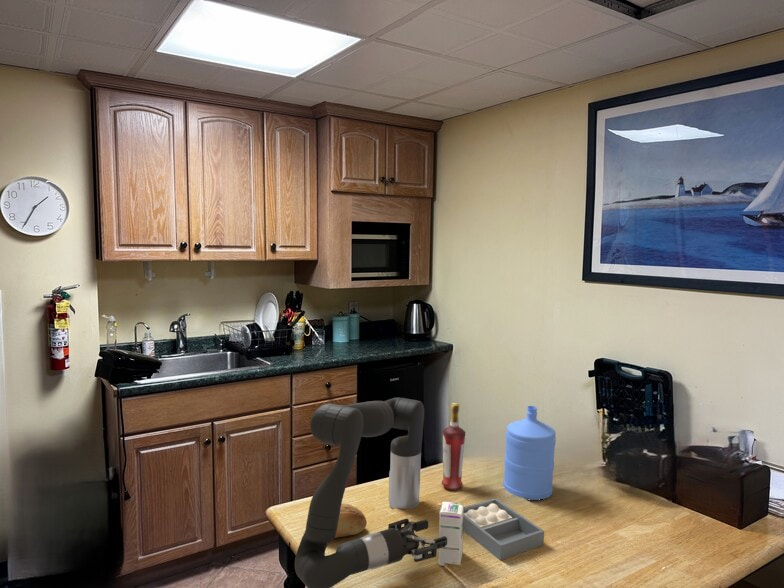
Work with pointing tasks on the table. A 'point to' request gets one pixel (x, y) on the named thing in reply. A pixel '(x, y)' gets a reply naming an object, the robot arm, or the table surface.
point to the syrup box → (451, 533)
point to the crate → (504, 532)
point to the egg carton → (487, 515)
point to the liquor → (453, 451)
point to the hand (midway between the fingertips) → (436, 531)
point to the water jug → (529, 457)
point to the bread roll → (350, 521)
